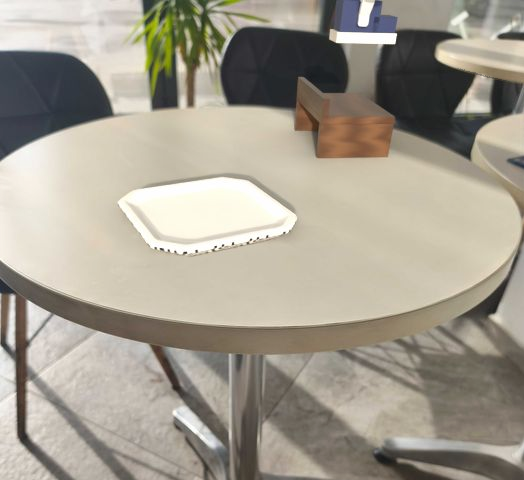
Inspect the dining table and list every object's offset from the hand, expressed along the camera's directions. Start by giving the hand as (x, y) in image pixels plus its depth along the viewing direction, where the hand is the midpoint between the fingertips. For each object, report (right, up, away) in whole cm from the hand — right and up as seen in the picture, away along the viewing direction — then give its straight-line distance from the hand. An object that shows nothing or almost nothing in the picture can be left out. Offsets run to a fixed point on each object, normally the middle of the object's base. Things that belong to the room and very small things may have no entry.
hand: (356, 24), depth 87 cm
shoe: (+1, -2, +2) cm, 3 cm away
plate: (-24, -40, -19) cm, 51 cm away
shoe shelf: (-1, -15, +14) cm, 21 cm away
